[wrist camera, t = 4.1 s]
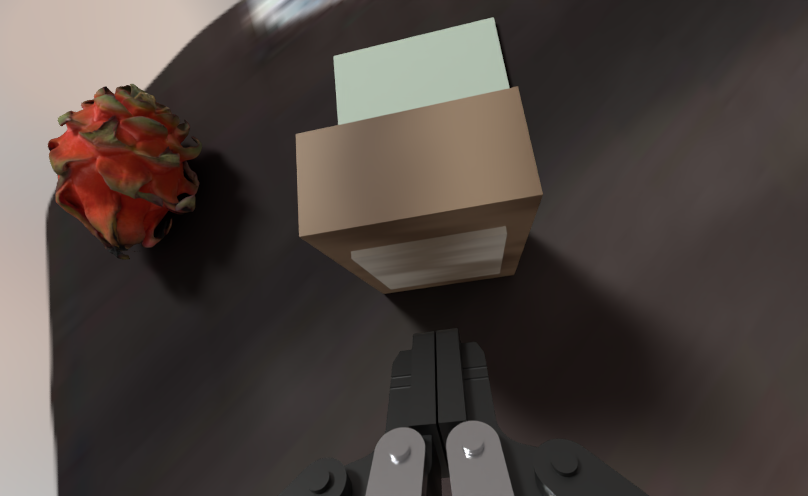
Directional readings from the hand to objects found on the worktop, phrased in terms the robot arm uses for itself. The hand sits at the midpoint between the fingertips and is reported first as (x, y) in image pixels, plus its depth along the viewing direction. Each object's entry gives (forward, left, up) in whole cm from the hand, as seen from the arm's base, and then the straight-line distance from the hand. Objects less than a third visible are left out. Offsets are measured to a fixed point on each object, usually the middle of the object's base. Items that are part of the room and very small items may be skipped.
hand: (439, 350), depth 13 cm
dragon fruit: (+20, -14, -10) cm, 26 cm away
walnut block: (0, -6, -10) cm, 12 cm away
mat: (0, -16, -10) cm, 19 cm away
